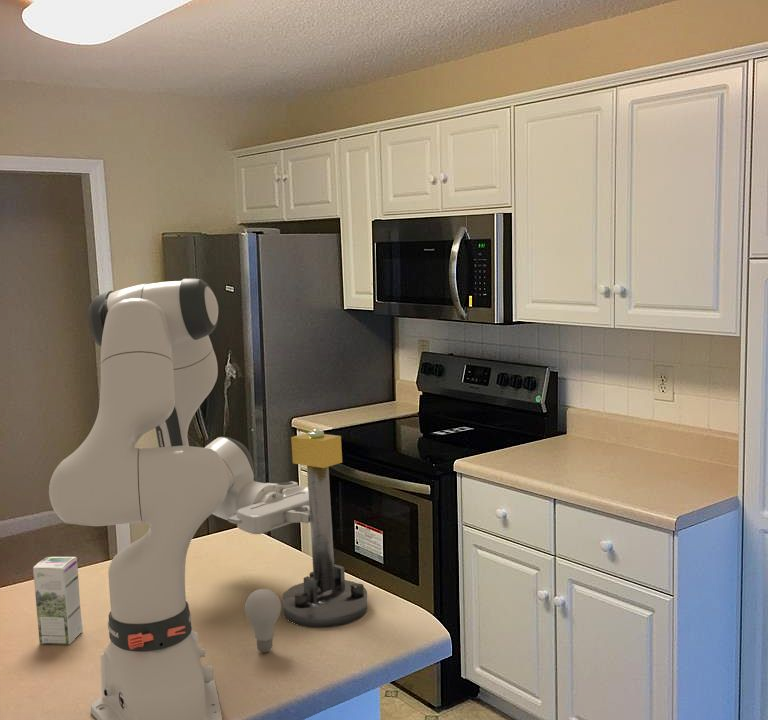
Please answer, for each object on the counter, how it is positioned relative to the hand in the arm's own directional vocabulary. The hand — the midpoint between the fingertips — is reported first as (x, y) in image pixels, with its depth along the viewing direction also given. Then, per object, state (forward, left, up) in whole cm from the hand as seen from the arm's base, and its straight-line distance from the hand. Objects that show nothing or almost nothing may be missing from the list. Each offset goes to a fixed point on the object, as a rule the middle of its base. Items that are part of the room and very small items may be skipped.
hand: (313, 517), depth 165 cm
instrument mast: (-2, -1, -13) cm, 13 cm away
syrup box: (+11, +45, -18) cm, 50 cm away
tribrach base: (-2, -1, -18) cm, 18 cm away
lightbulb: (-13, +15, -18) cm, 27 cm away
